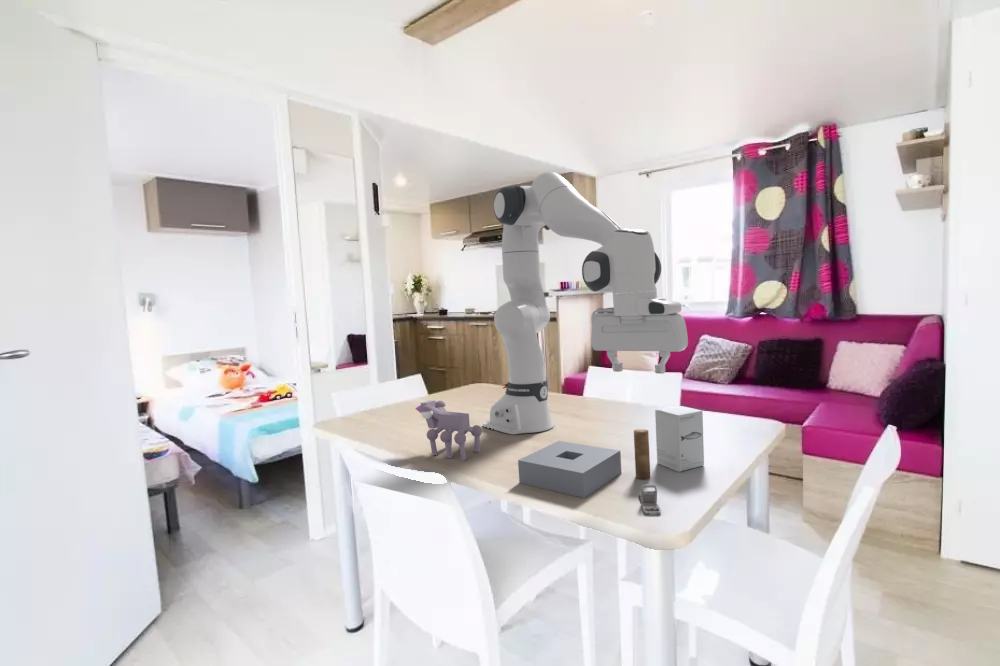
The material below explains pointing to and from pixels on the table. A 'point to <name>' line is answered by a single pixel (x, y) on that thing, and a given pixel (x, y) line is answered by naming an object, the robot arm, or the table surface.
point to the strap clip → (649, 500)
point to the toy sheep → (448, 427)
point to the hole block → (570, 468)
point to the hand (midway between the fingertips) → (638, 372)
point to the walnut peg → (642, 454)
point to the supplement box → (679, 437)
